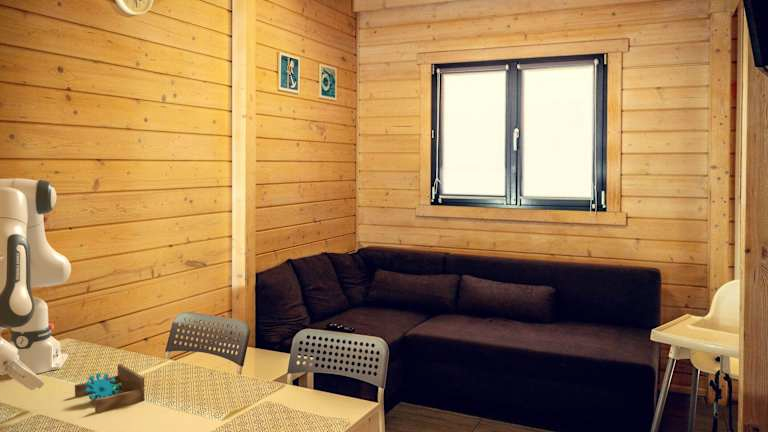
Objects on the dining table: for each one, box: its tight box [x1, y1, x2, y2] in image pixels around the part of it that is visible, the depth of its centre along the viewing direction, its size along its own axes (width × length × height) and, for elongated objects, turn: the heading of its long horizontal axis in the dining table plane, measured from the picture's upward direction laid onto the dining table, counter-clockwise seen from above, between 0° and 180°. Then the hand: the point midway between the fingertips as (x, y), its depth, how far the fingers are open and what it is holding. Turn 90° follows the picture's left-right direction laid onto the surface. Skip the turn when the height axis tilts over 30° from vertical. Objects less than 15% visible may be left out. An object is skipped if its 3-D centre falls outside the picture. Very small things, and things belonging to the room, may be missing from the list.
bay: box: [74, 363, 145, 413], centre depth 196 cm, size 14×17×7 cm
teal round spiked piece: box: [85, 372, 122, 400], centre depth 195 cm, size 11×6×10 cm
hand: (40, 384), depth 182 cm, fingers closed
